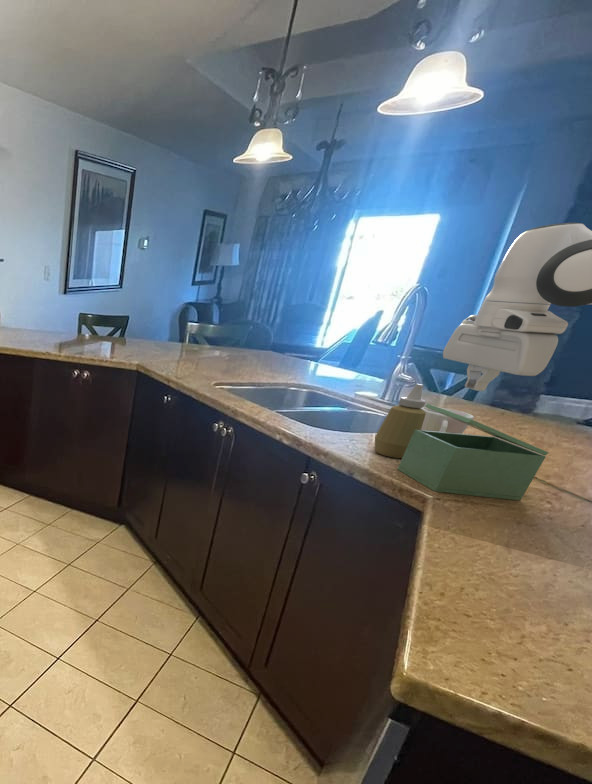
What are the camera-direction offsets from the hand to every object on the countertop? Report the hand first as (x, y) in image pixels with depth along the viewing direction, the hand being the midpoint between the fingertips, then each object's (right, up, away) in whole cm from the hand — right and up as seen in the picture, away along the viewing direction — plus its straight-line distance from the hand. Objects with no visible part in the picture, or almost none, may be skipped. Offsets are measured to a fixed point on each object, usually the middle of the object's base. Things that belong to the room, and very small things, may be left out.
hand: (474, 389), depth 99 cm
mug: (+20, -11, +30) cm, 37 cm away
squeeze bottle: (+5, -12, +25) cm, 28 cm away
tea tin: (+4, -19, +8) cm, 21 cm away
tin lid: (+5, -8, +3) cm, 10 cm away
